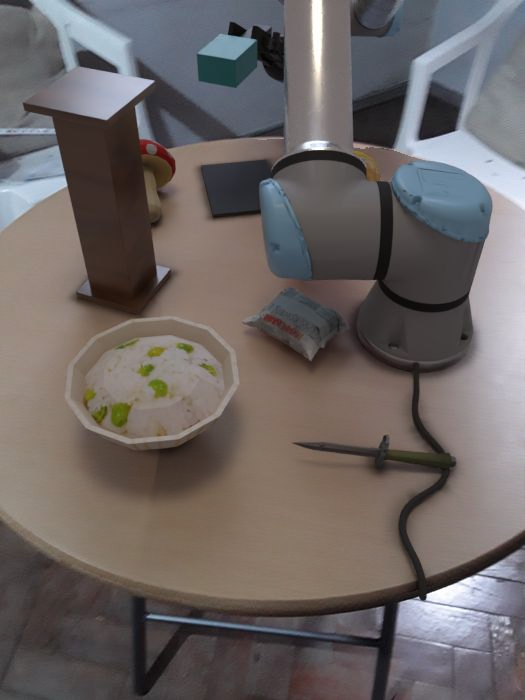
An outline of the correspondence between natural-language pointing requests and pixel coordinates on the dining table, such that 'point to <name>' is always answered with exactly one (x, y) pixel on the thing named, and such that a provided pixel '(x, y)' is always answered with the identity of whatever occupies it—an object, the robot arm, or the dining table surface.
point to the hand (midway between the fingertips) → (242, 33)
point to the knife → (386, 453)
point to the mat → (235, 186)
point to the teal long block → (229, 58)
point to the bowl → (152, 382)
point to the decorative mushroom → (156, 173)
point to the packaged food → (298, 322)
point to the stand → (105, 182)
